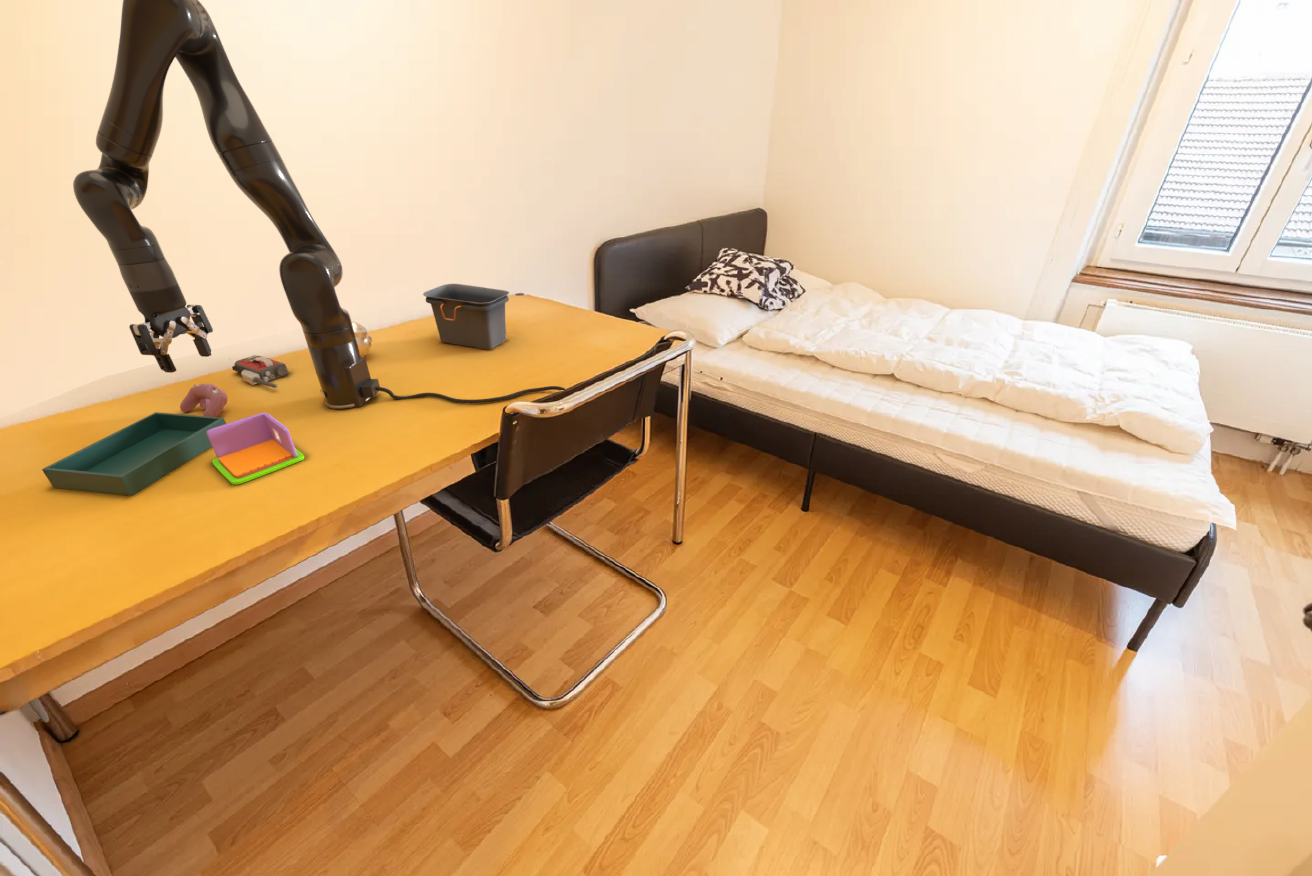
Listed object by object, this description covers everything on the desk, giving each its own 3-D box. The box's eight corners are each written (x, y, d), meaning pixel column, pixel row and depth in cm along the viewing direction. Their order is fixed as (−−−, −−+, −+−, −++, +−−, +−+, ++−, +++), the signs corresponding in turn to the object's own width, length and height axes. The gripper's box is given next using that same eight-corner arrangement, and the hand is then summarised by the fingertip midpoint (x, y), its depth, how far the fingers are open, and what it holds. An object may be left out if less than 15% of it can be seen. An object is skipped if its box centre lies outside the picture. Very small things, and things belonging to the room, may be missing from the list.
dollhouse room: (281, 438, 111) (269, 407, 108) (307, 459, 105) (295, 426, 101) (210, 462, 103) (195, 430, 100) (233, 487, 97) (218, 453, 93)
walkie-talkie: (224, 375, 137) (272, 393, 129) (217, 359, 135) (266, 376, 126) (261, 364, 144) (309, 380, 135) (255, 347, 141) (303, 363, 133)
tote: (231, 434, 112) (223, 417, 110) (131, 495, 94) (121, 477, 92) (163, 428, 114) (155, 412, 112) (53, 487, 96) (41, 469, 94)
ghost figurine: (358, 367, 142) (347, 329, 137) (328, 362, 145) (317, 325, 140) (383, 355, 150) (374, 319, 145) (355, 350, 152) (345, 314, 147)
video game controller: (229, 421, 120) (233, 389, 119) (205, 421, 116) (209, 387, 115) (201, 412, 124) (205, 381, 123) (177, 411, 119) (181, 379, 119)
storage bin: (519, 339, 162) (514, 289, 154) (489, 357, 149) (481, 305, 142) (457, 330, 167) (449, 282, 160) (423, 347, 155) (412, 296, 148)
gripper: (135, 295, 100) (175, 378, 108) (201, 275, 112) (232, 351, 120) (98, 294, 101) (141, 376, 109) (168, 274, 113) (201, 350, 121)
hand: (189, 363), depth 115 cm, fingers open, 8 cm apart
